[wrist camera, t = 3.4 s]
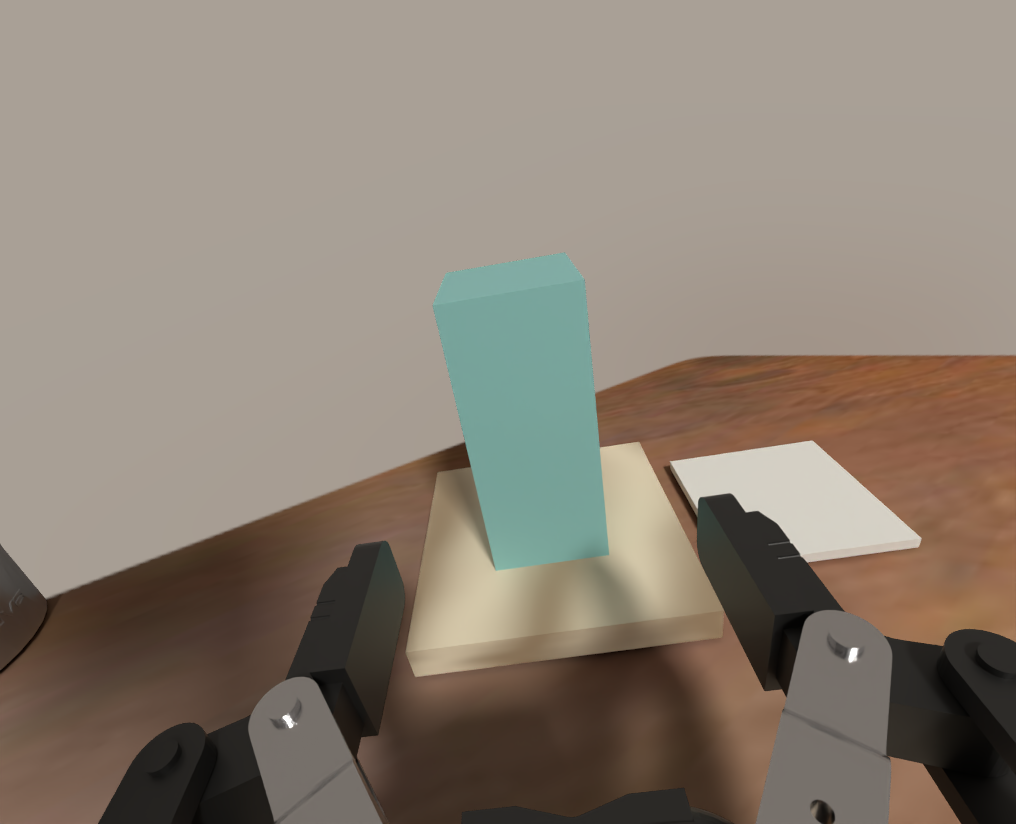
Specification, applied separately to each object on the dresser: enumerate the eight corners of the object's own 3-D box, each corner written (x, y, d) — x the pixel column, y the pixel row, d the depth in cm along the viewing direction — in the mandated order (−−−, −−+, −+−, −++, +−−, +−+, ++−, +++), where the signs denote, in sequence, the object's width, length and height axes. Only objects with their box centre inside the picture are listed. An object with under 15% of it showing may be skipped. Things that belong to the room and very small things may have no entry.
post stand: (415, 677, 19) (366, 555, 16) (443, 492, 30) (416, 398, 27) (722, 637, 19) (730, 503, 16) (639, 463, 29) (635, 363, 26)
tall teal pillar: (495, 570, 22) (432, 305, 16) (495, 500, 26) (445, 273, 20) (609, 555, 21) (584, 279, 16) (589, 486, 26) (564, 252, 20)
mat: (728, 573, 21) (729, 564, 21) (670, 468, 28) (670, 461, 28) (918, 547, 21) (921, 538, 21) (811, 447, 28) (812, 440, 28)
